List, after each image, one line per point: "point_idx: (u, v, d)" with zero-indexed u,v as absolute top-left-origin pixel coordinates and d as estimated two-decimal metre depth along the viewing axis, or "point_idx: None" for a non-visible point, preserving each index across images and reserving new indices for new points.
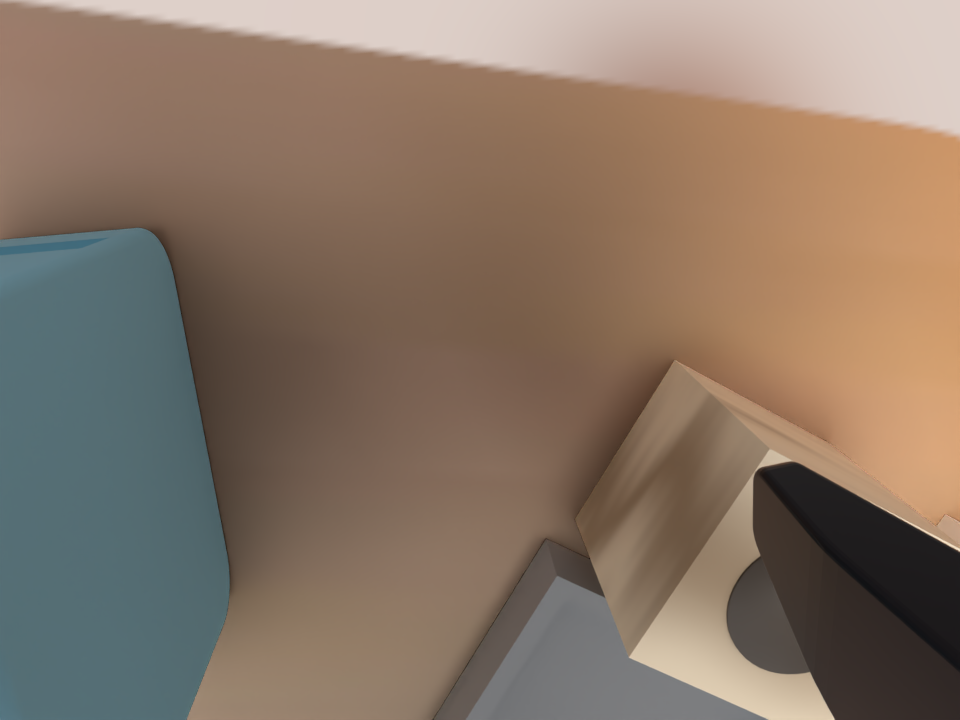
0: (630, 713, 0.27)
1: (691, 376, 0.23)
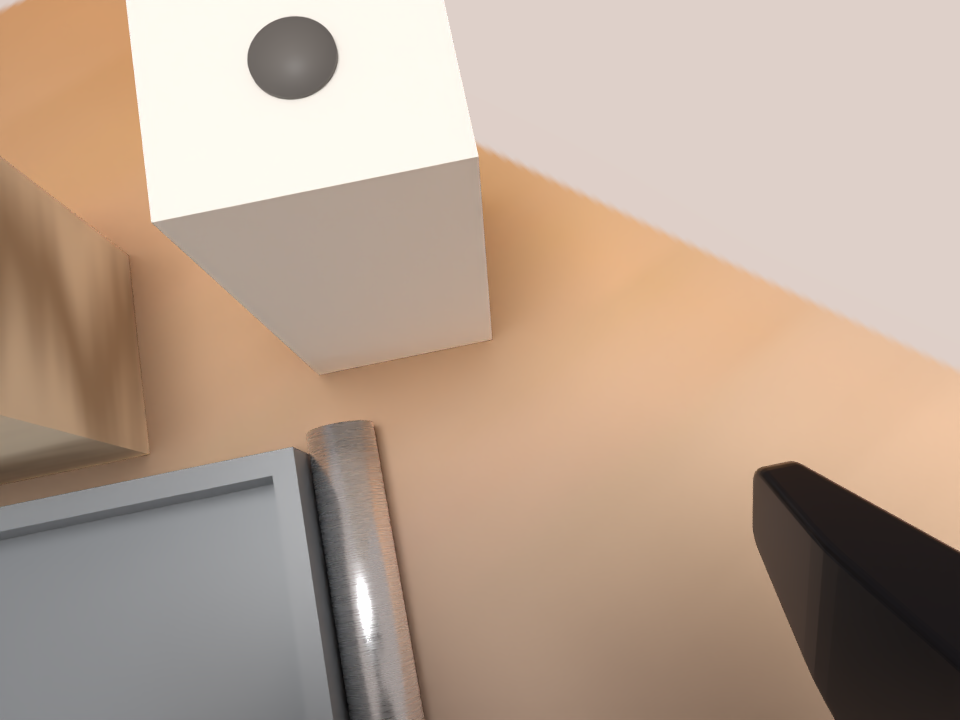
0: (127, 656, 0.21)
1: None
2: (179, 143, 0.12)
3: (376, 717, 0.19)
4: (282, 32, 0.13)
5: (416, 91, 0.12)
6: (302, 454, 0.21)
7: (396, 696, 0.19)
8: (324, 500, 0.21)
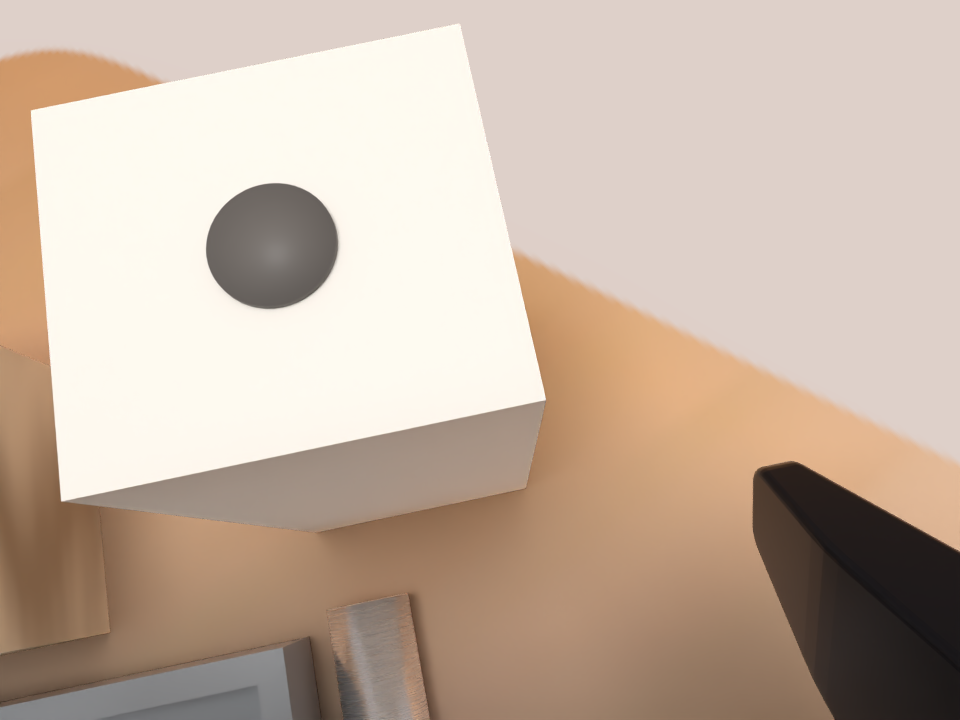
0: None
1: None
2: (106, 376, 0.08)
3: None
4: (257, 205, 0.09)
5: (452, 296, 0.08)
6: (295, 646, 0.17)
7: None
8: (379, 696, 0.16)
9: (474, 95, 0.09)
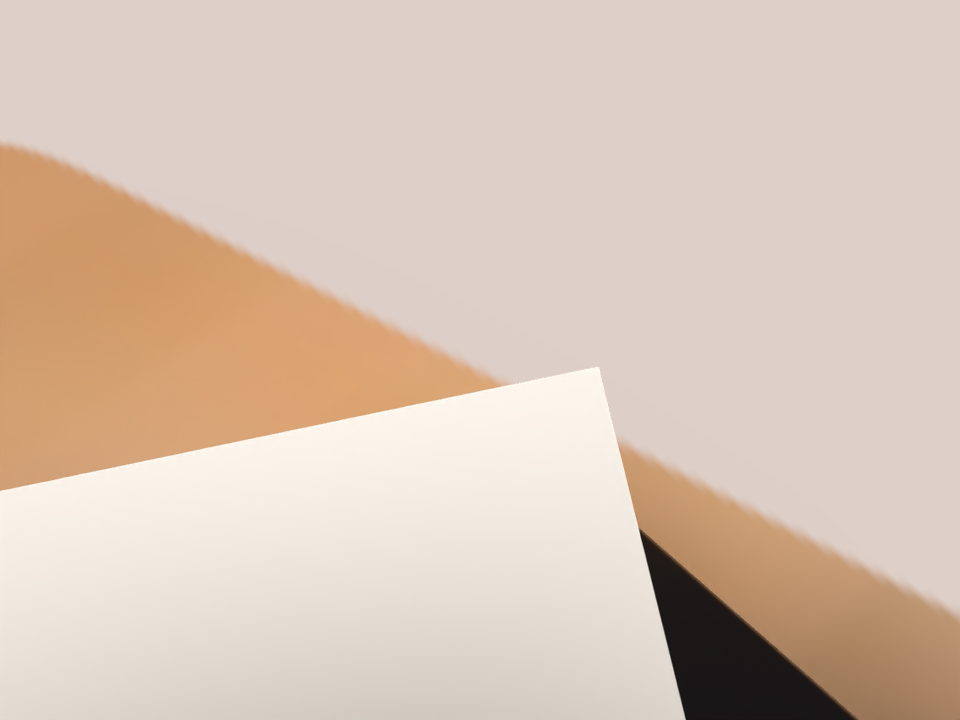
0: None
1: None
2: None
3: None
4: None
5: None
6: None
7: None
8: None
9: (639, 546, 0.04)
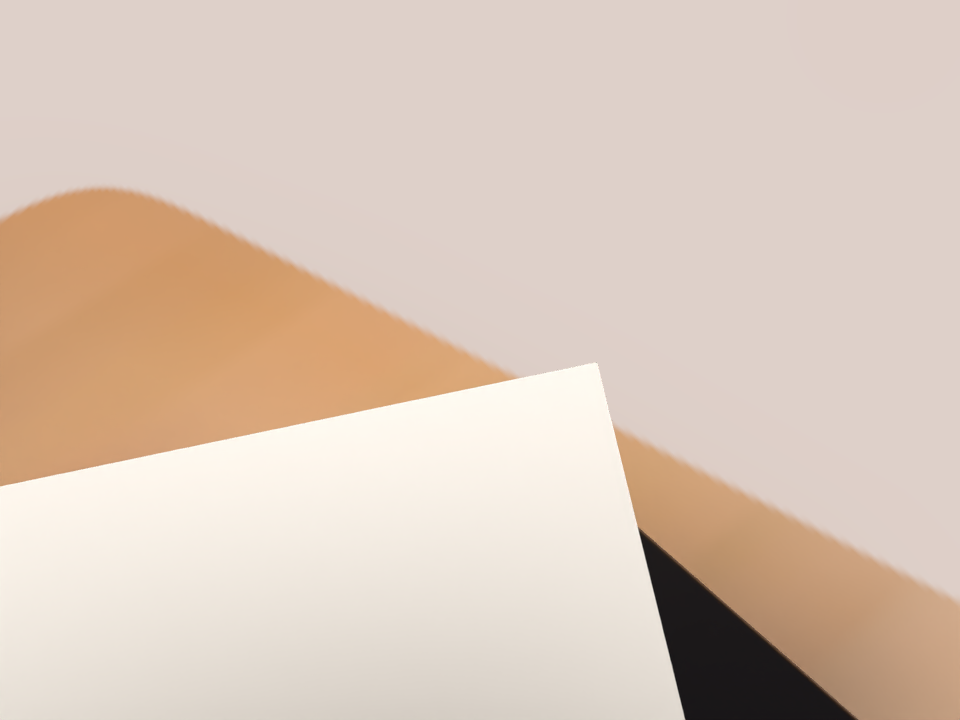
0: None
1: None
2: None
3: None
4: None
5: None
6: None
7: None
8: None
9: (637, 540, 0.04)
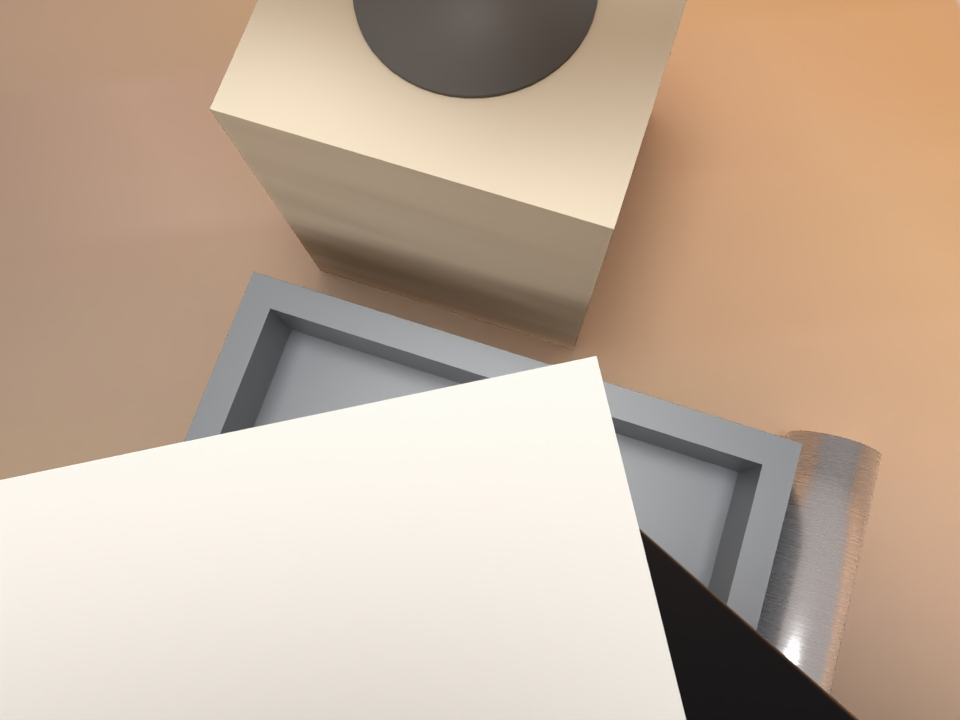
0: None
1: None
2: None
3: None
4: None
5: None
6: None
7: None
8: None
9: (637, 535, 0.04)
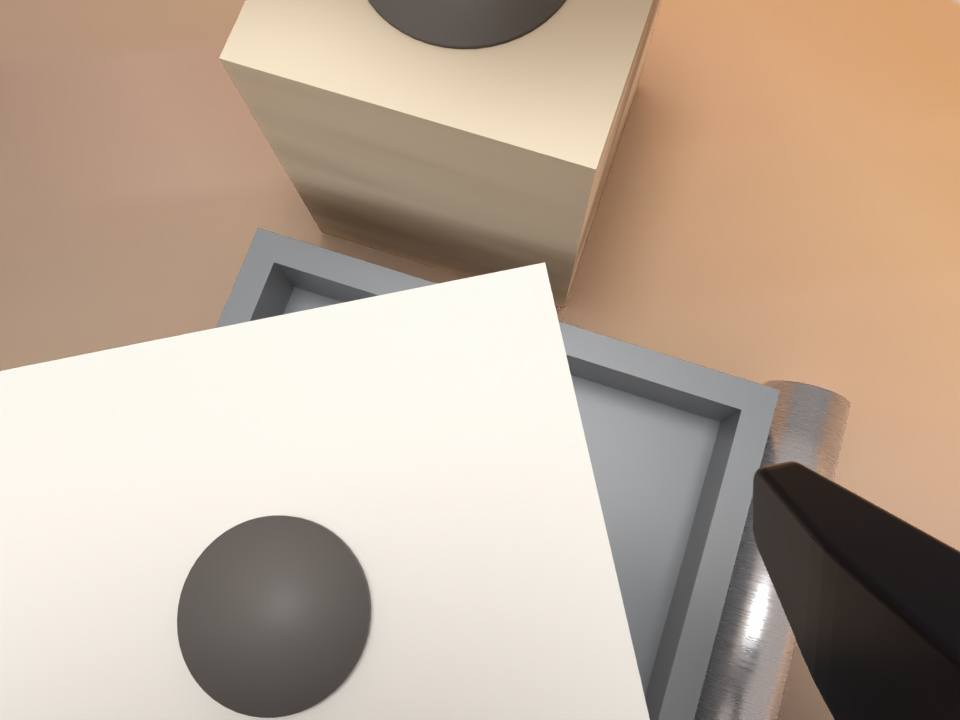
0: None
1: None
2: None
3: None
4: (253, 542, 0.06)
5: (541, 702, 0.06)
6: None
7: None
8: None
9: (569, 377, 0.06)
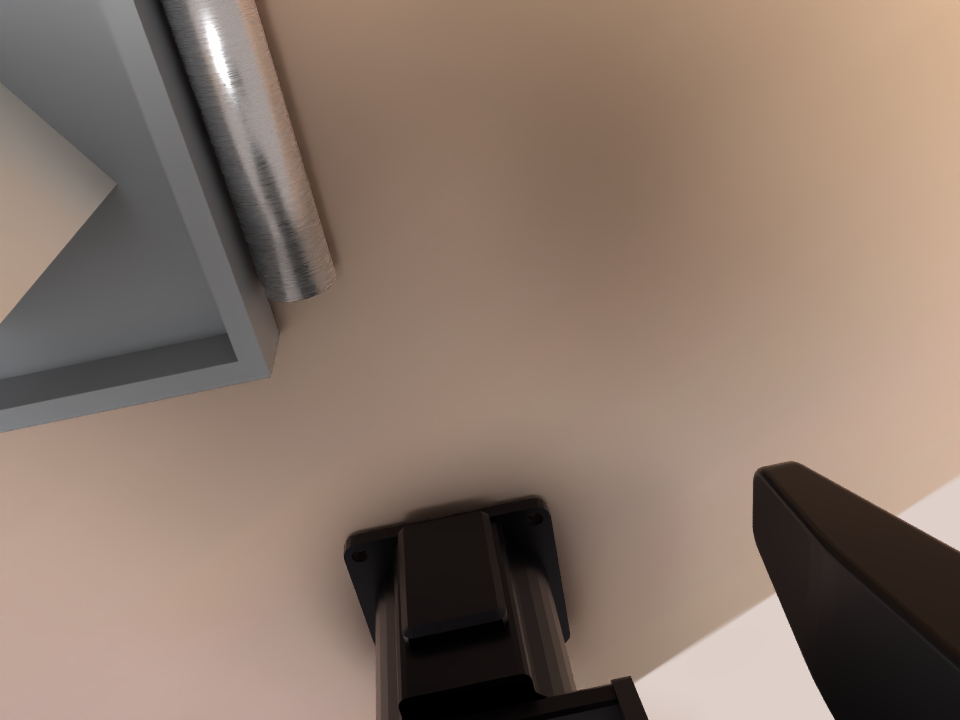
0: None
1: None
2: None
3: (232, 191, 0.18)
4: None
5: None
6: None
7: (245, 176, 0.18)
8: None
9: None
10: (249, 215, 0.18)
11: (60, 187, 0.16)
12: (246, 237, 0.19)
